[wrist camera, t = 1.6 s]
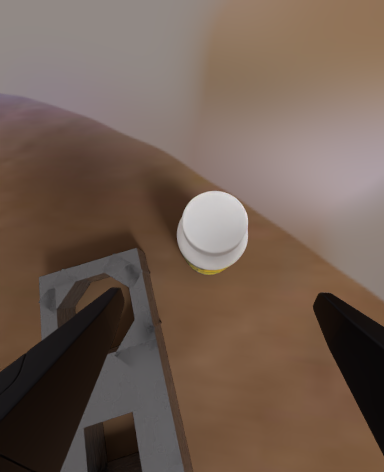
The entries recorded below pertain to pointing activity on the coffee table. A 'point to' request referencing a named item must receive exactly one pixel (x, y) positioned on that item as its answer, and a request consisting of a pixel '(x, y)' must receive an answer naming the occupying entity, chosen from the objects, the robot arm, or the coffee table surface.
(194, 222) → the supplement bottle
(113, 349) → the socket plate
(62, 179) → the coffee table surface
